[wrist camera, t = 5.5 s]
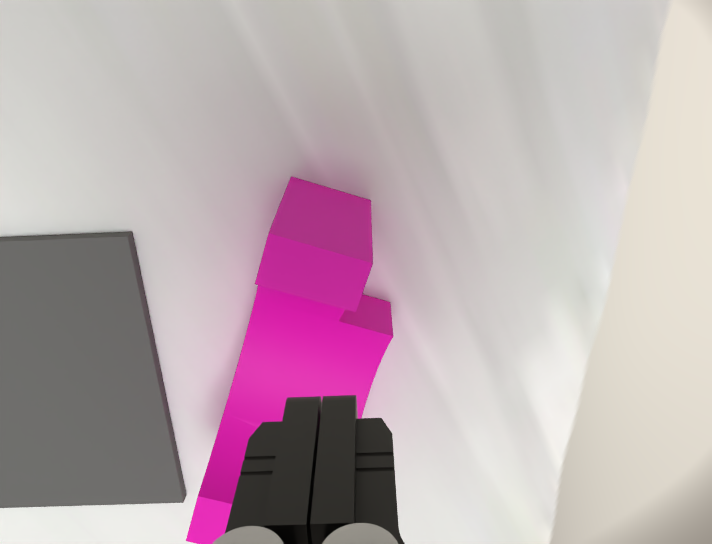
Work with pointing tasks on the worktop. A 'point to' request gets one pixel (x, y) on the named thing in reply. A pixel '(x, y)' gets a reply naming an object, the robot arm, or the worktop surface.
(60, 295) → the rubber mat
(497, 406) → the worktop surface
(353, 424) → the robot arm
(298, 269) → the magenta pipe clamp
